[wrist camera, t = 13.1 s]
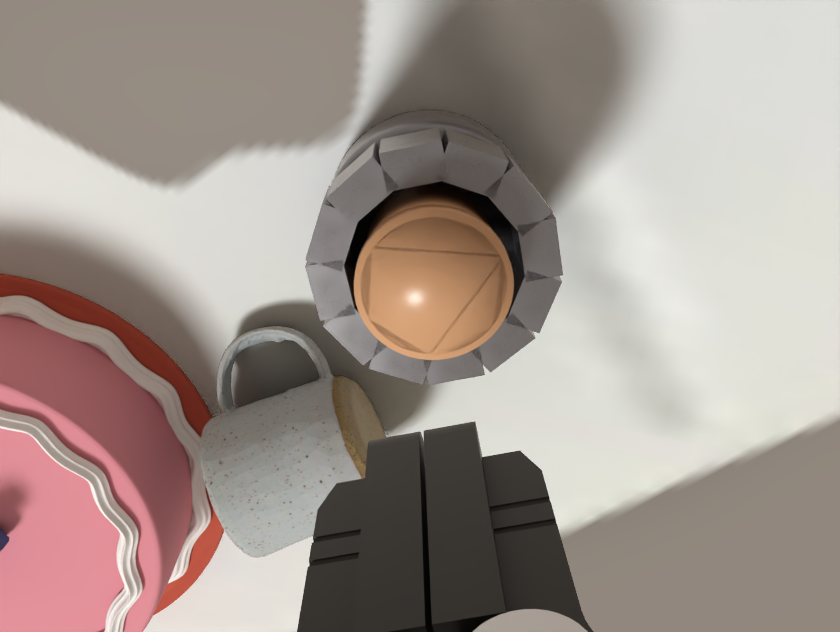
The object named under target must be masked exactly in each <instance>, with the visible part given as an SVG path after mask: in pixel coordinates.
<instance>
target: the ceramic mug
mask: <svg viewBox="0 0 840 632" xmlns="http://www.w3.org/2000/svg"><path fill="white" fill-rule="evenodd" d="M284 340H293V341H295V342H296V343H298V344H299V345H300V346H301V347H302V348H304V349H305V350H306V351H307V353H308V354H309V356H310V358H311V359H312V361H313V362H314V364H315V366H316V369H317V371H318V373H319V380H317V381H313V382H310V383H306V384H304V385H301V386H299V387H296V388H292V389H289V390H287V391H286V392H284V393H281V394H278V395H275V396H271V397H268V398H265V399H261V400H258V401H255V402H253V403H250V404H247V405H245V406H241V407H238V408H236V407H235V406H234V404H233V398H232V392H231V372H232V367H233V364H234V361H235V358H236V357H237V354H238V353H239V352H241V351H242V350H244V348H246V347H250V346H253V345H256V344H259V343H263V342H267V341H275V342H278V343H279V342H282V341H284ZM217 397H218V403H219V410H220V412H221V413H220V414H219V415H217V416H215V417H213V418H211V419H210V420H209V421H208V423H207V424H206V425H205V427H204V429H203V432H202V436H201V442H200V454H201V465H202V472H203V478H204V481H205V485H206V488H207V491H208V494H209V498H210V501H211V504H212V506H213V509H214V511H215V514H216V515H217V517H218V519H219V521H220V523H221V525H222V527H223V529H224V530H225V532H226V533H227V535H228V536H229V538H230V539H231V540H232V541H233V542H234V544H235V545H236V546H237V547H238V548H239V549H240V550H242V551H243V552H244V553H245V554H247V555H249V556H251V557H265V556H267V555H269V554H272V553H274V552H276V551H278V550H280V549H282V548H285V547H287V546H290V545H292V544H294V543H296V542H299V541H301V540H304V539H306V538H308V537H311V536H313V534H314V528H315V522H316V516H317V510H318V508H319V507H320V505H321V504H322V503H323V501H324V500H325V499H326V497H327V496H328V494H329V493H330V492H331V490H332V489H333V487H334V486H335V485H336V483H341V482H346V481H352V480H358V479H363V478H365V471H366V459H367V447H368V442H369V441H371V440H376V439H382V438H386V436H385V433H384V431H383V428H382V426H381V423H380V421H379V418H378V416H377V414H376V412H375V410H374V408H373V406H372V404H371V402H370V400H369V399H368V397H367V395H366V394H365V392H364V391H363V389H362V388H361V387H360V386H359V385H358V384H357V383H356V382H355V381H353V380H351V379H349V378H347V377H344V376H333V375H332V374H331V371H330V368H329V365H328V362H327V360H326V358H325V356H324V355H323V353H322V352H321V351H320V349H319V348H318V346H317V345H316V343H315V342H314V341H312V340H311V339H310V338H309V337H308V336H307V335H305V334H303V333H302V332H300V331H298V330H295V329H292V328H289V327H282V326H271V327H264V328H258V329H255V330H252V331H248V332H246V333H244V334H242V335H241V336H239V337H237V338H236V339H235V340H233V342H232V343H231V344H230V345H229V346H228V348H227V349H226V350H225V352H224V354H223V356H222V359H221V362H220V364H219V369H218V372H217Z"/></svg>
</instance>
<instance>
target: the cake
mask: <svg viewBox="0 0 840 632" xmlns="http://www.w3.org/2000/svg"><path fill="white" fill-rule="evenodd" d="M211 418H213V417H212V415H211V413H210V411H209V409H208V407H207V406H206V404H205V402H204V400H203V399H202V397H201V396H200V394H199V393H198V391H197V390H196V388H195V387H194V385H193V384H192V383H191V381H190V380H189V379H188V377H187V376H186V375H185V374H184V372H183V371H182V370H181V369H180V368H179V367H178V365H177V364H176V363H175V362H174V361H173V360H172V359H171V358H170V357H169V356H168V355H167V354H166V353H165V352H164V351H163V350H162V349H161V348H160V347H159V346H158V345H156V344H155V343H154V342H153V341H152V340H151V339H149V338H148V337H147V336H146V335H144V334H143V333H142V332H141V331H139V330H138V329H136V328H135V327H134V326H132V325H131V324H129V323H128V322H126V321H125V320H123V319H122V318H120V317H119V316H117V315H115V314H114V313H112V312H110V311H109V310H107V309H105V308H103V307H101V306H100V305H98V304H96V303H94V302H92V301H90V300H87V299H85V298H83V297H81V296H79V295H76V294H74V293H71V292H69V291H66V290H63V289H61V288H58V287H55V286H52V285H49V284H45V283H42V282H38V281H34V280H31V279H26V278H21V277H17V276H11V275H5V274H0V632H143V631H144V629H145V628H146V626H147V625H148V623H149V621H150V620H151V618H152V616H153V615H155V614H156V613H158V612H160V611H161V610H163V609H164V608H166V607H167V606H169V605H170V604H171V603H173V602H174V601H175V600H176V599H178V598H179V597H180V596H181V595H182V594H183V593H184V592H185V591H186V590H187V589H188V588H189V587H190V586H191V585H192V584H193V583H194V582H195V581H196V580H197V578H198V577H199V576H200V575H201V573H202V572H203V570H204V569H205V568H206V566H207V565H208V563H209V562H210V560H211V558H212V557H213V555H214V553H215V551H216V549H217V547H218V545H219V542H220V540H221V537H222V534H223V531H224V529H223V527H222V525H221V523H220V521H219V519H218V517H217V515H216V514H215V511H214V509H213V506H212V504H211V501H210V498H209V494H208V491H207V488H206V485H205V481H204V478H203V472H202V465H201V454H200V442H201V436H202V432H203V429H204V427H205V425H206V424H207V423H208V421H209V420H210V419H211Z"/></svg>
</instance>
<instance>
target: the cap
mask: <svg viewBox="0 0 840 632" xmlns="http://www.w3.org/2000/svg"><path fill="white" fill-rule="evenodd" d="M513 291H514V277H513V270H512V266H511V262H510V260H509V257H508V254H507V252H506V249H505V247H504V245H503V243H502V242H501V240H500V238H499V237H498V236H497V234H496V233H495V232H494V230H493V229H492V228H491V227H490V225H489V223H488V220H487V218H486V216H485V215H484V213H483V211H482V210H481V209H480V207H479V206H478V205H477V204H476V203H475V202H474V201H473V200H472V199H470V198H469V197H468V196H467V195H465V194H463V193H461V192H460V191H457V190H455V189H453V188H450V187H446V186H441V185H420V186H415V187H411V188H408V189H405V190H403V191H401V192H399V193H397V194H395V195H394V196H392V197H391V198H390V199H388V200H387V201H386V202H385V203H384V204H383V205H382V206H381V207H380V209H379V210H378V211H377V213H376V214H375V216H374V218H373V219H372V222H371V224H370V227H369V230H368V234H367V240H366V242H365V244H364V246H363V247H362V250H361V252H360V254H359V257H358V261H357V265H356V270H355V277H354V296H355V302H356V305H357V308H358V312H359V314H360V316H361V318H362V320H363V322H364V323H365V325H366V326H367V328H368V329H369V330H370V332H371V333H372V334H373V335H374V336H375V337H376V338H377V339H378V340H379V341H380V342H381V343H383V344H384V345H386V346H387V347H389V348H390V349H392V350H394V351H396V352H398V353H400V354H403V355H406V356H408V357H412V358H417V359H424V360H441V359H449V358H453V357H457V356H460V355H463V354H465V353H468V352H470V351H472V350H474V349H476V348H477V347H479V346H480V345H482V344H483V343H484V342H486V341H487V340H488V339H489V338H490V337H491V336H492V335H493V334H494V333H495V332H496V331H497V330H498V328H499V327H500V326H501V324H502V323H503V321H504V319H505V317H506V315H507V313H508V311H509V308H510V305H511V303H512V297H513Z"/></svg>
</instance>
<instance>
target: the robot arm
mask: <svg viewBox="0 0 840 632" xmlns="http://www.w3.org/2000/svg"><path fill="white" fill-rule="evenodd" d="M313 540H314V543H312V546H311V552H310V558H309V563H310V567H308V570H307V576H306V582H305V588H304V594H303V600H302V606H301V612H300V618H299V624H298V630H297V632H593V631H592V629H591V628H590V627H589V625H588V623H587V622H586V620H585V618H584V616H583V613H582V611H581V607H580V604H579V600H578V597H577V593H576V590H575V587H574V583H573V579H572V576H571V572H570V569H569V565H568V562H567V558H566V555H565V551H564V548H563V544H562V541H561V537H560V534H559V530H558V527H557V524H556V520H555V516H554V513H553V509H552V505H551V502H550V500H549V495H548V491H547V488H546V484H545V481H544V477H543V474H542V470H541V469H540V468H538V467H537V466H536V465H535V464H534V463H533V462H532V461H531V460H530V459H528V458H527V457H526V456H525V455H524V454H523V453H522V452H521V451H515V452H510V453H504V454H498V455H493V456H487V457H482V454H481V449H480V443H479V438H478V433H477V428H476V423H475V422H470V423H464V424H459V425H453V426H448V427H442V428H436V429H431V430H425V431H424V441H423V438H422V435H421V432H415V433H410V434H404V435H398V436H393V437H387V438H382V439H376V440H371V441H369V442H368V447H367V459H366V471H365V478H363V479H358V480H352V481H346V482H341V483H336V485H335V486H334V487H333V489H332V490H331V492H330V493H329V494H328V496H327V497H326V499H325V500H324V501H323V503H322V504H321V505H320V507H319V508H318V510H317V516H316V522H315V528H314V534H313Z"/></svg>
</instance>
